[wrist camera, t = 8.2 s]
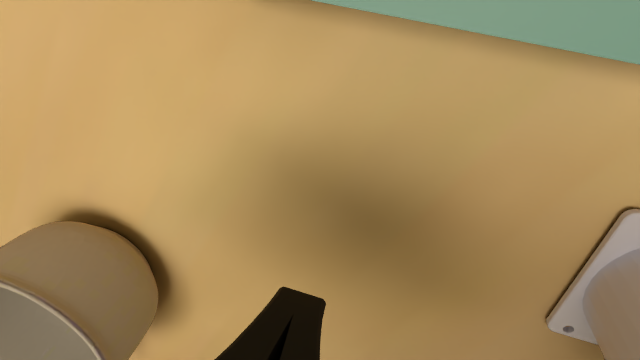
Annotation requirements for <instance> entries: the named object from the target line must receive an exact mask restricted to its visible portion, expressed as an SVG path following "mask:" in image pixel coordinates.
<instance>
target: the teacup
mask: <svg viewBox="0 0 640 360" xmlns="http://www.w3.org/2000/svg"><path fill="white" fill-rule="evenodd" d="M157 306H158V289H157V285H156V282H155V279H154V276H153V274H152V272H151V269H150V266H149V264H148V262H147V261H146V259H145V257H144V256H143V254H142V253H141V252H140V251H139V250H138V249H137V247H135V246H134V245H133V244H132V243H131V242H130V241H128V240H127V239H126V238H124V237H122V236H121V235H119V234H117V233H116V232H113V231H111V230H108V229H105V228H102V227H98V226H94V225H90V224H86V223H82V222H74V221H61V222H53V223H48V224H45V225H42V226H39V227H37V228H34V229H32V230H30V231H28V232H26V233H24V234H22V235H20V236H18V237H17V238H15V239H13V240H12V241H10V242H8V243H7V244H5V245H3V246H2V247H0V360H128V359H129V358H130V356H131V355H132V353H133V352H134V350H135V349H136V348H137V346H138V345H139V343H140V342H141V340H142V339H143V337H144V335H145V334H146V332H147V330H148V329H149V327H150V325H151V323H152V321H153V319H154V317H155V314H156V311H157Z"/></svg>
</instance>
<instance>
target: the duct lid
mask: <svg viewBox="0 0 640 360" xmlns="http://www.w3.org/2000/svg"><path fill="white" fill-rule="evenodd" d="M312 1H317V2H323V3H328V4H333V5H338V6H343V7H348V8H353V9H358V10H363V11H369V12H374V13H379V14H384V15H389V16H394V17H399V18H404V19H409V20H414V21H420V22H425V23H430V24H435V25H440V26H445V27H450V28H455V29H460V30H466V31H471V32H476V33H481V34H486V35H491V36H496V37H501V38H506V39H512V40H517V41H522V42H527V43H532V44H537V45H542V46H547V47H552V48H558V49H563V50H568V51H573V52H578V53H583V54H588V55H593V56H598V57H604V58H609V59H614V60H619V61H624V62H629V63H634V64H639V65H640V0H312Z"/></svg>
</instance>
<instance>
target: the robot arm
mask: <svg viewBox="0 0 640 360" xmlns="http://www.w3.org/2000/svg"><path fill="white" fill-rule="evenodd" d="M325 306H326V302H325V301H324V299H322V298H318V297H315V296H312V295H309V294H306V293H302V292H299V291H296V290H293V289H290V288H287V287H282V288H280V289H279V290H278V291H277V293H276V294H275V296H274V297H273V298H272V299H271V301H270V302H269V303H268V304H267V306H266V307H265V308H264V309H263V310H262V312H261V313H260V314H259V315H258V316H257V317H256V318H255V320H254V321H253V322H252V323H251V324H250V325H249V326H248V327H247V328H246V329H245V330H244V331H243V332H242V333H241V334H240V335H239V337H238V338H237V339H236V340H235V341H234V342H233V343H232V344H231V345H230V346H229V347H228V348H227V349H226V350H224V351H223V352H222V353H221V354H220V355H219V356H218V357H217V358H216V359H215V360H320V337H321V326H322V318H323V314H324V310H325ZM546 322H547V326H548V328H549V329H550V330H551V331H553V332H557V333H560V334H563V335H567V336H570V337H573V338H577V339H580V340H583V341H587V342H590V343H593V344H597V345H599V347H600V349H601V352H602V354H603V356H604V358H605V360H640V209H630V210H627V211H625V212H623V213H622V214H621V215H620V217H619V218H618V220H617V221H616V222H615V224H614V225H613V227H612V228H611V229H610V231H609V232H608V234H607V235H606V236H605V238H604V239H603V241H602V242H601V243H600V245H599V246H598V248H597V249H596V250H595V252H594V253H593V255H592V256H591V257H590V259H589V260H588V262H587V263H586V264H585V266H584V267H583V269H582V270H581V271H580V273H579V274H578V276H577V277H576V278H575V280H574V281H573V283H572V284H571V285H570V287H569V288H568V290H567V291H566V292H565V294H564V295H563V297H562V298H561V299H560V301H559V302H558V304H557V305H556V306H555V308H554V309H553V311H552V312H551V314H550V315H549V316H548V318H547V320H546ZM565 326H569V327H565Z"/></svg>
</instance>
